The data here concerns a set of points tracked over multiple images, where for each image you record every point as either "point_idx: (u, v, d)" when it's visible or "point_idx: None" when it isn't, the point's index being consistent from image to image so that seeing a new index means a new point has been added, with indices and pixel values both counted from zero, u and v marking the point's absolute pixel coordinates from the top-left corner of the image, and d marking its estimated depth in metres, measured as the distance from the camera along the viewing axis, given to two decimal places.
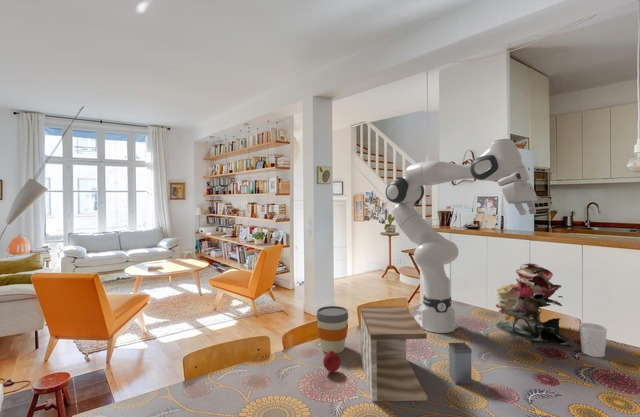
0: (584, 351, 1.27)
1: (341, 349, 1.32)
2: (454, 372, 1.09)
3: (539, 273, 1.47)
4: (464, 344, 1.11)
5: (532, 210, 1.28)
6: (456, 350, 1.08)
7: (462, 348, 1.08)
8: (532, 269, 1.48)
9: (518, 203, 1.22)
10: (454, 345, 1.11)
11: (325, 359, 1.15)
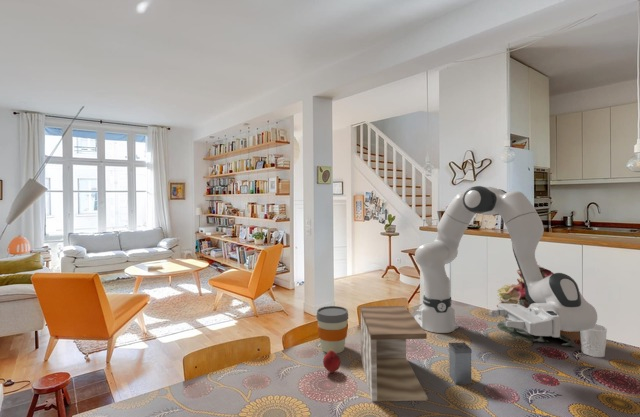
0: (584, 351, 1.27)
1: (341, 349, 1.32)
2: (454, 372, 1.09)
3: None
4: (464, 344, 1.11)
5: (494, 315, 1.14)
6: (456, 350, 1.08)
7: (462, 348, 1.08)
8: None
9: (522, 326, 1.03)
10: (454, 345, 1.11)
11: (325, 359, 1.15)
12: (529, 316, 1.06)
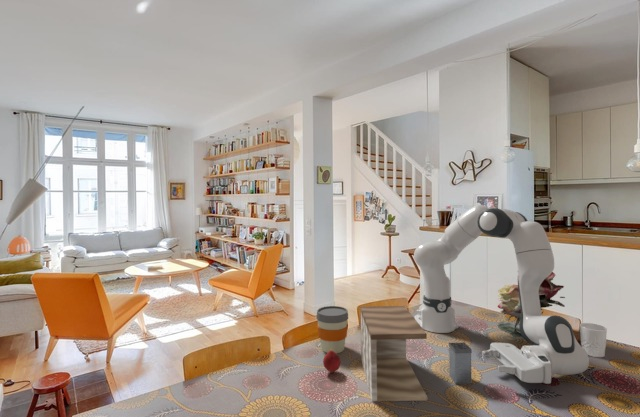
0: None
1: (341, 349, 1.32)
2: (454, 372, 1.09)
3: None
4: (464, 344, 1.11)
5: (486, 356, 1.15)
6: (456, 350, 1.08)
7: (462, 348, 1.08)
8: None
9: (514, 372, 1.04)
10: (454, 345, 1.11)
11: (325, 359, 1.15)
12: (521, 361, 1.06)
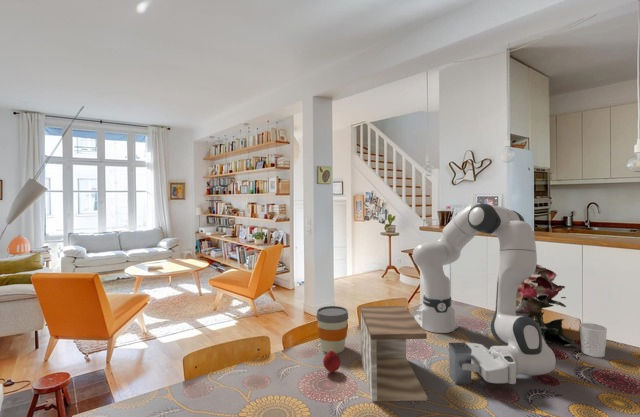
0: (584, 351, 1.27)
1: (341, 349, 1.32)
2: (454, 372, 1.09)
3: (542, 274, 1.45)
4: (464, 344, 1.11)
5: None
6: (456, 350, 1.08)
7: (462, 348, 1.08)
8: (535, 270, 1.47)
9: (477, 369, 1.05)
10: (454, 345, 1.11)
11: (325, 359, 1.15)
12: (487, 361, 1.06)
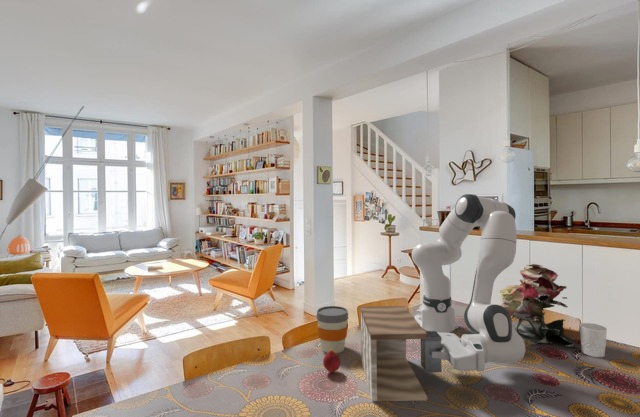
0: (584, 351, 1.27)
1: (341, 349, 1.32)
2: (424, 360, 1.08)
3: (543, 274, 1.45)
4: (435, 332, 1.11)
5: None
6: None
7: (432, 336, 1.08)
8: (536, 270, 1.46)
9: (446, 357, 1.05)
10: None
11: (325, 359, 1.15)
12: (456, 349, 1.06)
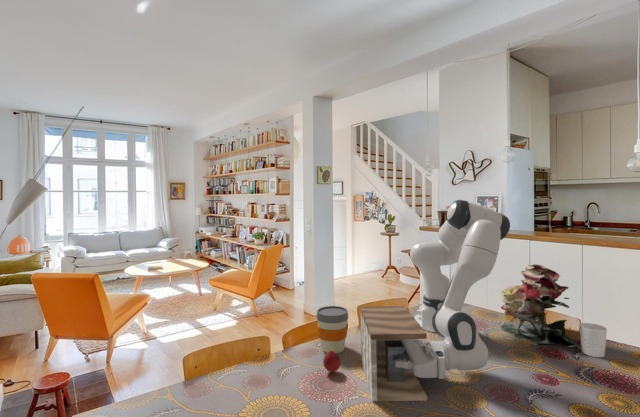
0: (584, 351, 1.27)
1: (341, 349, 1.32)
2: (388, 370, 1.09)
3: (545, 274, 1.44)
4: (399, 342, 1.11)
5: None
6: (389, 348, 1.08)
7: (395, 346, 1.08)
8: (538, 270, 1.46)
9: (410, 367, 1.04)
10: (389, 342, 1.11)
11: (325, 359, 1.15)
12: (419, 356, 1.06)
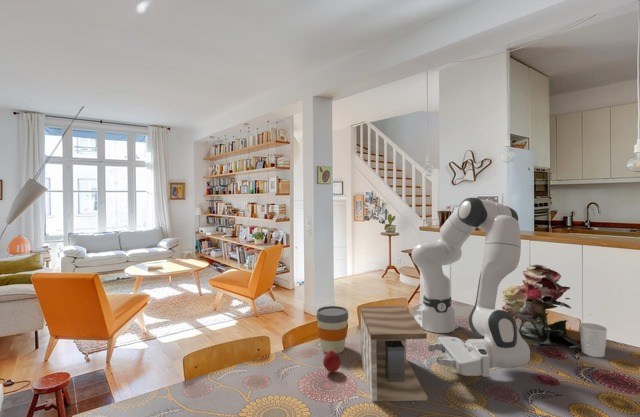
0: (584, 351, 1.27)
1: (341, 349, 1.32)
2: (388, 370, 1.09)
3: (546, 274, 1.44)
4: (399, 342, 1.11)
5: (431, 349, 1.15)
6: (389, 348, 1.08)
7: (395, 346, 1.08)
8: (539, 270, 1.45)
9: (453, 365, 1.04)
10: (389, 342, 1.11)
11: (325, 359, 1.15)
12: (461, 354, 1.06)
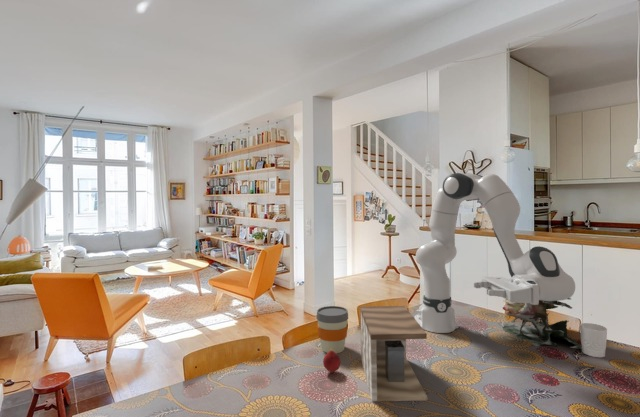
0: (584, 351, 1.27)
1: (341, 349, 1.32)
2: (388, 370, 1.09)
3: None
4: (399, 342, 1.11)
5: (478, 286, 1.19)
6: (389, 348, 1.08)
7: (395, 346, 1.08)
8: None
9: (503, 294, 1.08)
10: (389, 342, 1.11)
11: (325, 359, 1.15)
12: (510, 286, 1.11)
